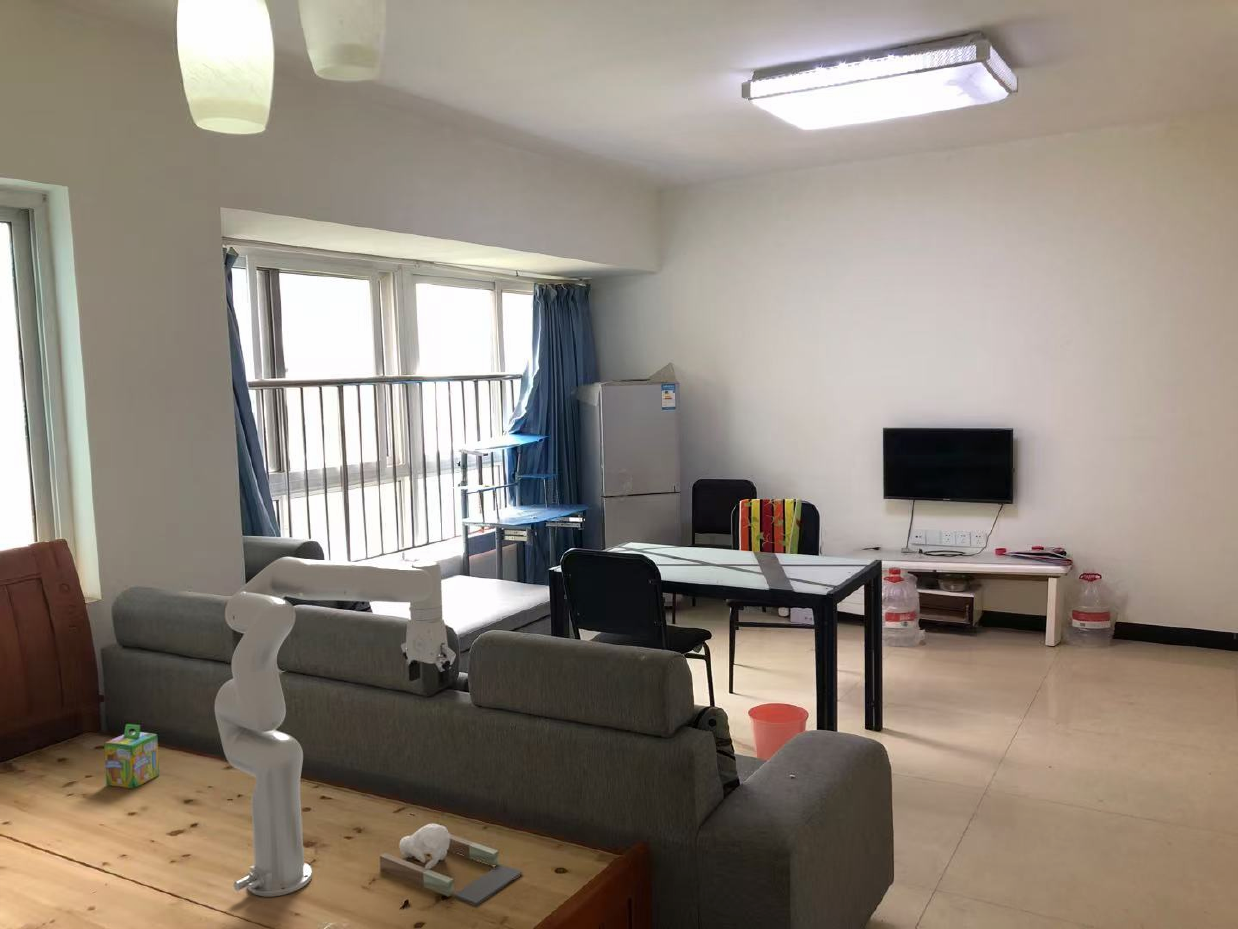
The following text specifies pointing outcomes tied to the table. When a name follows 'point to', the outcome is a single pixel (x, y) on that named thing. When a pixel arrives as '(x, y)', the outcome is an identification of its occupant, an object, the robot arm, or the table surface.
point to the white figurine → (427, 844)
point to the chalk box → (131, 758)
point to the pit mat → (487, 884)
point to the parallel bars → (432, 878)
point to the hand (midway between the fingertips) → (429, 682)
